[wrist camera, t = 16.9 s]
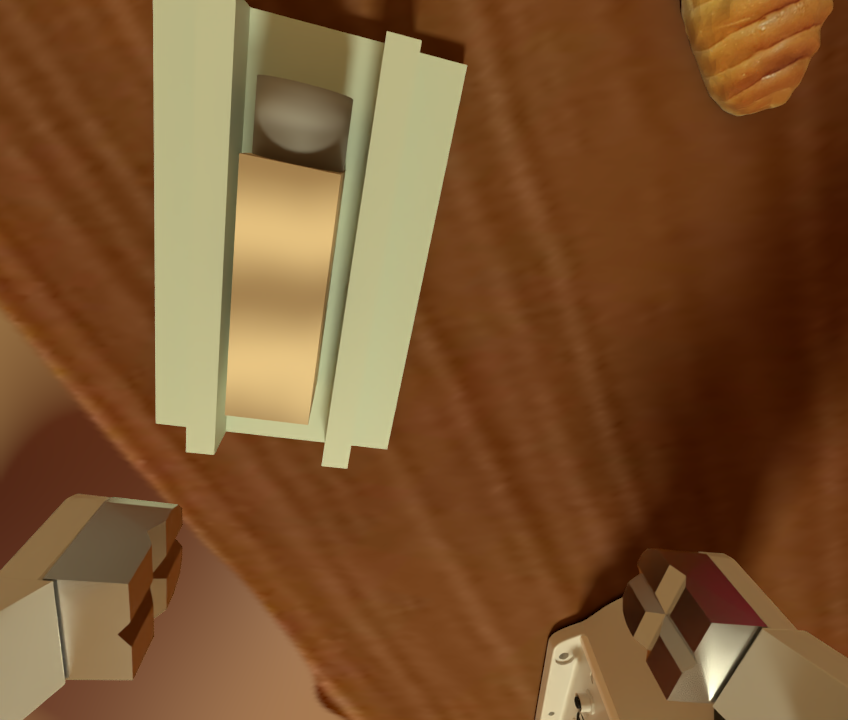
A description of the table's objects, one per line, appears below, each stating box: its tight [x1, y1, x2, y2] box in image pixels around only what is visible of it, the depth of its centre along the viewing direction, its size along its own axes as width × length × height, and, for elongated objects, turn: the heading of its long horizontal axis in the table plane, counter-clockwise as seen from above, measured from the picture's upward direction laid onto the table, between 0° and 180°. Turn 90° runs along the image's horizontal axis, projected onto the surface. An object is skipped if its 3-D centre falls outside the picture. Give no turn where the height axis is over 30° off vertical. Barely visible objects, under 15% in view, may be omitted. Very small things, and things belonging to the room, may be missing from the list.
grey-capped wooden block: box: [225, 75, 353, 425], centre depth 23 cm, size 15×4×5 cm, turn 168°
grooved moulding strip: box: [153, 0, 467, 468], centre depth 25 cm, size 22×14×4 cm, turn 168°
